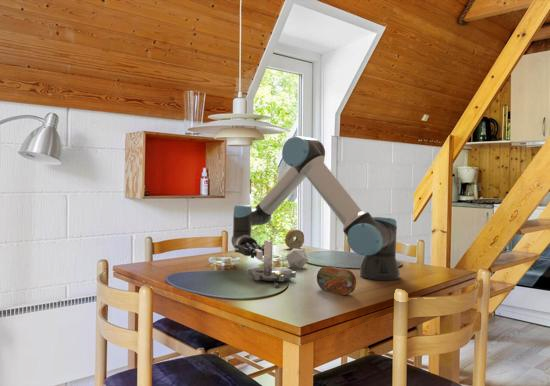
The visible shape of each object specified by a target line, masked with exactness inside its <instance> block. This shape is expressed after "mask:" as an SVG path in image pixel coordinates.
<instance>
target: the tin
mask: <svg viewBox="0 0 550 386" xmlns="http://www.w3.org/2000/svg"><path fill="white" fill-rule="evenodd" d="M316 282H317V285H318V287H319V288H320V289H321V291H324V292H327V293H331V294H335V295H339V296H347V295H350V294H352V293H353V292H354V291H355V290H356V288H357V279H356V276H355V274H354V273H353V272H352V271H351V270H349V269H346V268H339V267H334V266H322V267H321V268H319V270H318V271H317V274H316Z"/></svg>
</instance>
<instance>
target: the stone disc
mask: <svg viewBox="0 0 550 386" xmlns="http://www.w3.org/2000/svg"><path fill="white" fill-rule="evenodd" d="M284 238H285V239H284V242H285V245H286V246H287V247H288V248H289V249H291V250H292V249H293V248H295V249H301V247H302V246H303V245H304V242H305V234H304V233H303V231H301V230H300V229H290V230H288V231H287V233H286V234H285V237H284ZM294 238H295V240H294Z"/></svg>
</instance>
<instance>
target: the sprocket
mask: <svg viewBox="0 0 550 386" xmlns="http://www.w3.org/2000/svg"><path fill="white" fill-rule="evenodd" d="M273 244H274V243H273V240H267V239H266V240H264V241H263V245H264V256H263V266H260V267H256V268H251V269H249V268H248V270H247V276H249V277H250V276H251V278H253V279H254V280H255V281H265V280H266V281H265V282H271V281H274V282H284V281H286V280H287V281H288V280H290V279H294V278H297V271H293V270H292V269H290V268H289V267H281V266H273Z"/></svg>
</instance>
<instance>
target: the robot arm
mask: <svg viewBox="0 0 550 386" xmlns="http://www.w3.org/2000/svg"><path fill="white" fill-rule="evenodd" d="M281 151H282V152H281V157H282V160H283V161H284V163H285V164H286V165H287V166H289V167H290V168H289V169H288V170H287V171H286V172H285V173H284V175H283V176H281V178H280V179H278V181H277V182H276V183H275V184H274V186H273V187H272V188H271V189H270V190H269V191H268V193H266V195H265V196H264V197H263V199H261V200H260V201H259V203H258V204H257V205H256V206H255V207H254V208H252V206H251V205H250V204H237V205H234V207H233V213H232V214H233V220H232V221H233V225H232V226H233V227H232V229H233V231H232V237H231V244H232V246H233V248H234V252H235V253H238V254H241V255H243V256H244V257H250V259H254V258H255V259H257V260H264V244H263V245H260V244H258V242H257V240H255V238H253V237H252V226H253V227H254V226H262V225H265V224H268V223H269V222H270V221H271V219H272V215H273V214H274V212H276V211H277V209H278V208H279V207H280V206H282V204H283V203H284V202H285V201H286V200H287V198H289V196H290V195H291V194H292V193H293V192H294V191H295V190H296V189H297V187H298V186H299V185H300V184H302V182H303V181H304V180H305V179H307V180H308V181H309V182H310V183H311V185H312V186H313V187H314V189H315V190H316V191H317V192H318V195H320V197H321V198H322V199H323V201H325V203H326V204H327V206H328V207H329V208H330V209H331V210H332V212H333V213H334V215H335V216H336V217H337V218H338V220H339V222H341V224H342V225H343V229H342V232H343V233H344V235H345V236H346V237H347V240H346V242H347V244H348V247H349V248H350V249H351V251H353V252H354V253H356V254H357V255H359V256H363V260H362V263H361V267H360V268H359V276H360V277H362V278H365V279H367V280H369V279H370V280H375V281H395V280H399V279H400V274H401V273H400V269H399V265H398V261H397V258H396V255H397V254H396V250H397V229H398V226H397V225H398V224H397V220H396V219H395V218H391V217H385V216H384V217H382V216H381V217H380V216H372V215H371V213H370V212H368V211H363V210H362V209H361V207H360V206H359V205H358V204H357V202H355V200H354V199H353V198H352V196H351V195H350V193H348V191H347V190H346V189H345V188H344V187H343V185H342V184H341V183H340V181H339V180H338V179H337V178H336V176H335V175H334V173H332V172H331V170H330V169H329V167H328V166H327V165H326V163H325V157H326V149H325V147H324V144H323V143H322V141H320V140H318V139H316V138H312V137H307V136H302V135H296V136H291V137H290V138H288V139H287V140H286V141H285V142H284V144H283V146H282V150H281Z"/></svg>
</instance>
